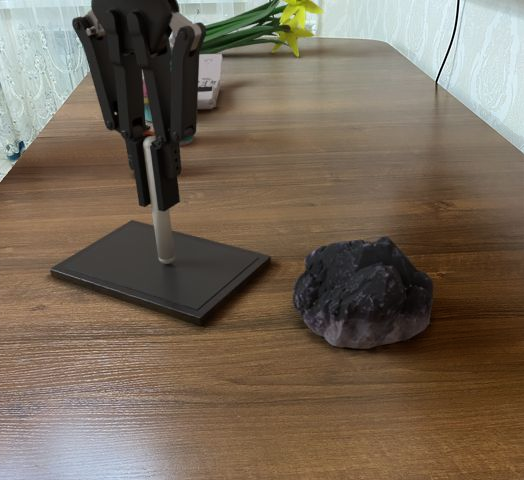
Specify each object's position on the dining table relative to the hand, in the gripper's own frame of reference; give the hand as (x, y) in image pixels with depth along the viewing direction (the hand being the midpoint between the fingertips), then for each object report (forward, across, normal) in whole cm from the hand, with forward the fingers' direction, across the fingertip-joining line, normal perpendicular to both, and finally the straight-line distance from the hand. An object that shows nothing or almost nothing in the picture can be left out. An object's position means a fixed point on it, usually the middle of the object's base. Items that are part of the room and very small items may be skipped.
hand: (159, 203), depth 63 cm
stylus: (+7, 0, 0) cm, 7 cm away
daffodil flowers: (+8, +46, -96) cm, 107 cm away
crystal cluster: (+8, -22, -2) cm, 24 cm away
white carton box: (+8, +36, -60) cm, 70 cm away
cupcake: (+8, +36, -45) cm, 58 cm away
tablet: (+8, +1, 0) cm, 8 cm away
